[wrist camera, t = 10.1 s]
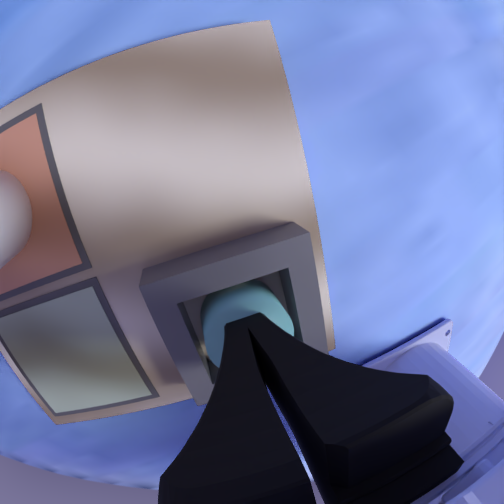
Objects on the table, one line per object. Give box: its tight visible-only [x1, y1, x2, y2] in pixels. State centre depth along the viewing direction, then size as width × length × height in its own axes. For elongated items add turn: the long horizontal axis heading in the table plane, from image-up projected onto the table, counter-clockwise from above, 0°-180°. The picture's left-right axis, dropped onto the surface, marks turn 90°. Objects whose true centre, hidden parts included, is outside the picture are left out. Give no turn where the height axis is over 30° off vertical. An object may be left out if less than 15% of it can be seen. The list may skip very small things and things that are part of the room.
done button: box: [200, 279, 294, 368], centre depth 12 cm, size 3×3×2 cm
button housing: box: [139, 222, 329, 406], centre depth 12 cm, size 6×6×2 cm
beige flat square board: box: [0, 20, 335, 425], centre depth 11 cm, size 15×16×1 cm
